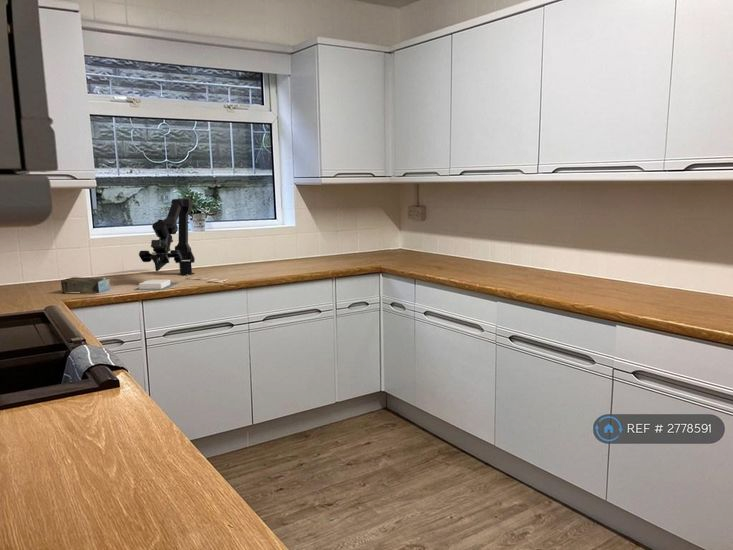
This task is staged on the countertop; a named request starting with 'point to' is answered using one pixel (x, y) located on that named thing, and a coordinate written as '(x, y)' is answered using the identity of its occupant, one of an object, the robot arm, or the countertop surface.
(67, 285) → the beverage carton
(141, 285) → the tile
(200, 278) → the turner
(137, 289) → the mat
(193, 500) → the countertop surface
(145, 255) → the robot arm
